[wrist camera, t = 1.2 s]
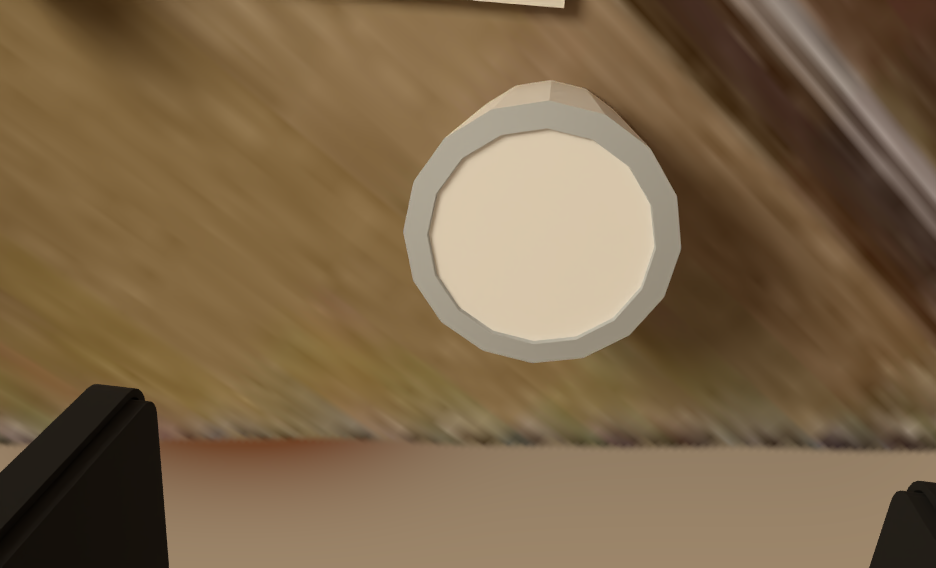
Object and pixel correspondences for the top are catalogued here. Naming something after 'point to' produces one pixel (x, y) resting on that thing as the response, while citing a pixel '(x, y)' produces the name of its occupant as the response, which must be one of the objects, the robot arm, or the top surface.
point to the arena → (532, 2)
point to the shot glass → (543, 226)
